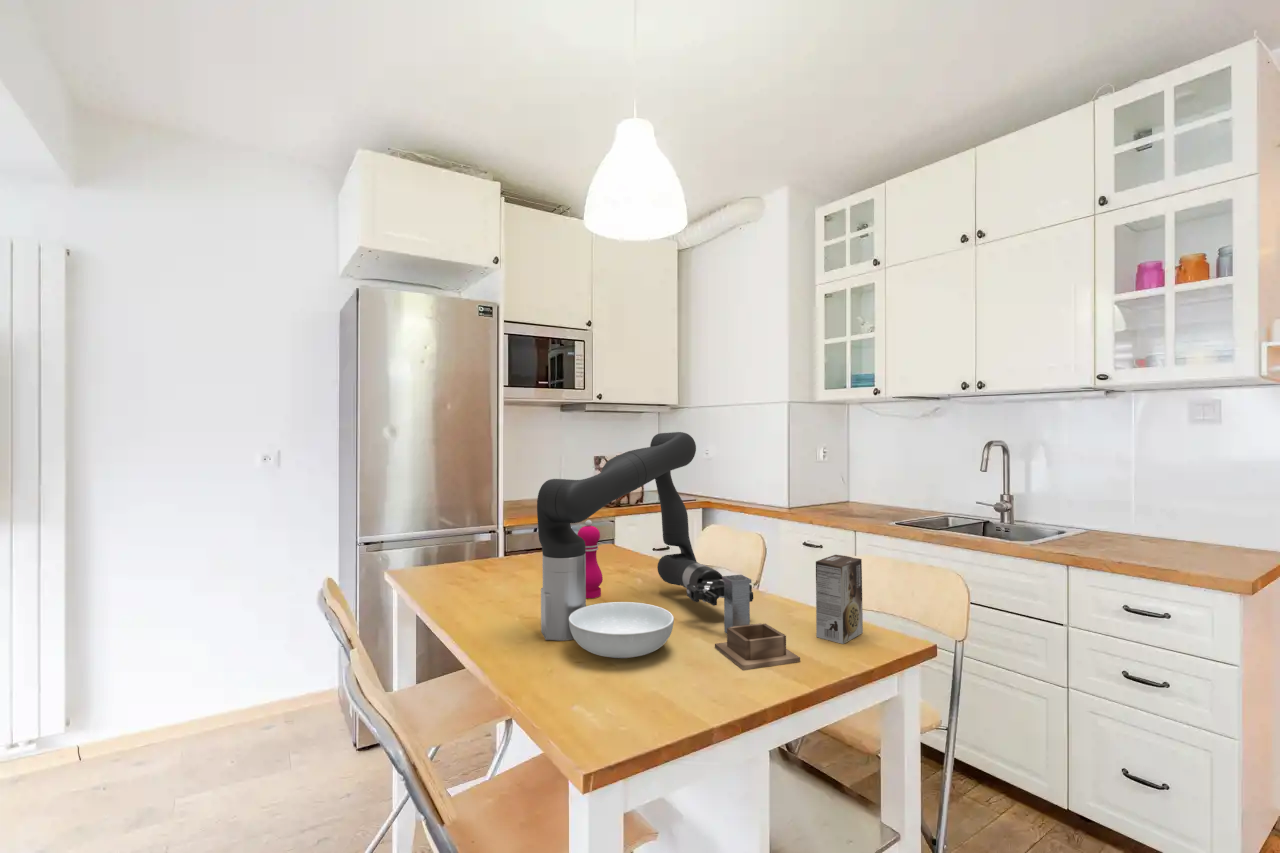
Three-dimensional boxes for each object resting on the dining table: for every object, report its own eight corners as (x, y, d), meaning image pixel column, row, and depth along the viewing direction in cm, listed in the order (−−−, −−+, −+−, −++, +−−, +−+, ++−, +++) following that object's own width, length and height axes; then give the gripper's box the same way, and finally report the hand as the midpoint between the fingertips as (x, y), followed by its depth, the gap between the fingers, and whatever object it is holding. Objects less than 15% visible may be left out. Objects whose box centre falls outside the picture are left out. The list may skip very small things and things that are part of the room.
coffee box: (835, 627, 135) (835, 553, 135) (863, 633, 130) (863, 558, 130) (814, 637, 129) (814, 560, 129) (843, 644, 124) (843, 565, 124)
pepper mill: (601, 599, 158) (601, 522, 158) (573, 599, 158) (573, 522, 158) (603, 591, 165) (603, 517, 165) (577, 591, 166) (576, 518, 166)
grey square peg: (732, 638, 128) (731, 581, 128) (722, 631, 132) (722, 576, 132) (751, 636, 129) (751, 579, 129) (741, 629, 134) (741, 574, 134)
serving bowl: (642, 679, 108) (641, 640, 108) (547, 658, 118) (547, 622, 118) (691, 642, 126) (691, 609, 126) (605, 627, 136) (605, 596, 136)
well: (742, 669, 111) (742, 645, 111) (714, 647, 123) (714, 625, 123) (800, 661, 115) (800, 638, 115) (767, 640, 126) (767, 619, 126)
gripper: (675, 568, 146) (703, 584, 130) (729, 563, 150) (762, 578, 135) (675, 599, 146) (703, 619, 130) (729, 594, 150) (762, 613, 135)
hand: (733, 599), depth 132 cm, fingers open, 8 cm apart
